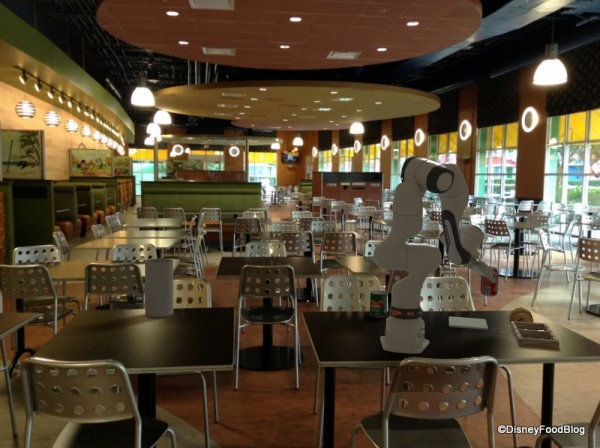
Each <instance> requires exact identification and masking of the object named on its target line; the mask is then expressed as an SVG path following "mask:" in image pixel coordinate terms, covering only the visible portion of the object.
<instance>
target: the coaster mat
mask: <svg viewBox="0 0 600 448" xmlns="http://www.w3.org/2000/svg"><path fill="white" fill-rule="evenodd" d="M448 327H449V328H460V329H461V328H462V329H474V330H484V331H487V330H489V328H488V324H487V320H486V318H475V317H474V318H473V317H472V318H471V317H463V316H462V317H459V316H448Z"/></svg>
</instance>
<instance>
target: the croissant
mask: <svg viewBox="0 0 600 448" xmlns="http://www.w3.org/2000/svg"><path fill="white" fill-rule="evenodd" d="M508 318H509V320H510V322H511V321H518V322H531V323H535V321H534V316H533V315H532V312H531V311H530V310H528V309H527V308H525V307H517V308H514V309H512V310H511V311H510V312H509V314H508Z"/></svg>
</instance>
